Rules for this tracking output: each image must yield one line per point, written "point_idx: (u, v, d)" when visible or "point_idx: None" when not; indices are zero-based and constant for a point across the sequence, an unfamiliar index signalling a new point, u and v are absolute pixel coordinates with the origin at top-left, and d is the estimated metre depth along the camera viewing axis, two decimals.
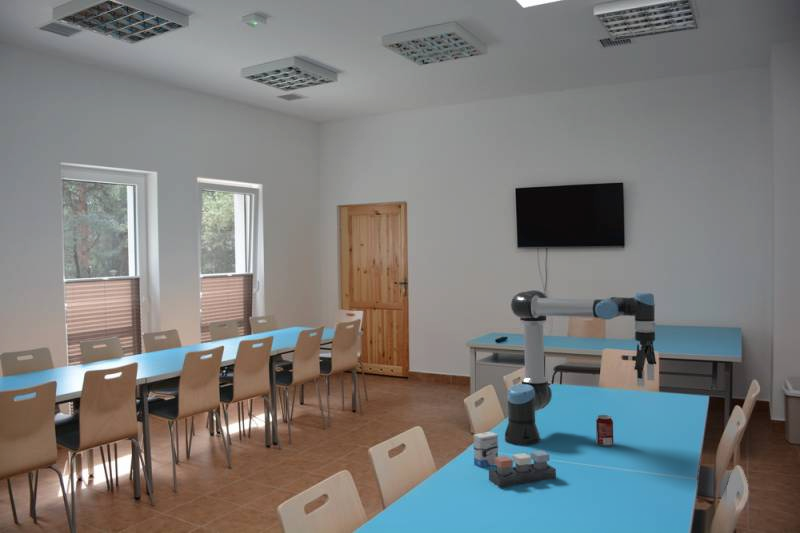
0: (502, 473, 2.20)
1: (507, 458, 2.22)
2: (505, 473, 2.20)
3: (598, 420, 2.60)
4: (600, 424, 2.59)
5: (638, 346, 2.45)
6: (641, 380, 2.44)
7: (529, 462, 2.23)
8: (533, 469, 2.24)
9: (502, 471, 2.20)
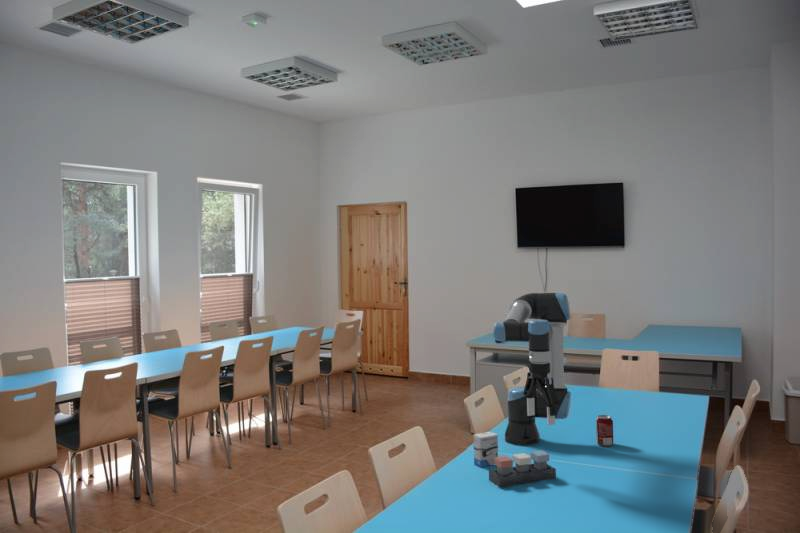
0: (502, 473, 2.20)
1: (507, 458, 2.22)
2: (505, 473, 2.20)
3: (598, 420, 2.60)
4: (600, 424, 2.59)
5: None
6: None
7: (529, 462, 2.23)
8: (533, 469, 2.24)
9: (502, 471, 2.20)
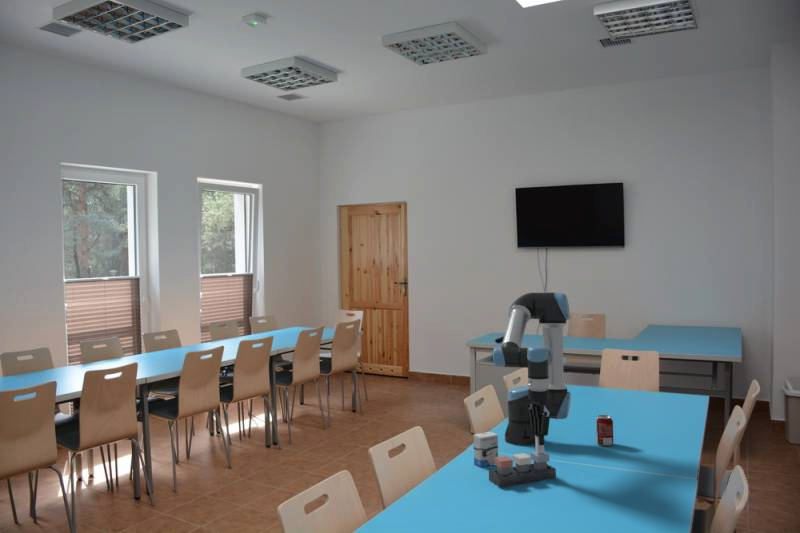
0: (502, 473, 2.20)
1: (507, 458, 2.22)
2: (505, 473, 2.20)
3: (598, 420, 2.60)
4: (600, 424, 2.59)
5: None
6: None
7: (529, 462, 2.23)
8: (533, 469, 2.24)
9: (502, 471, 2.20)
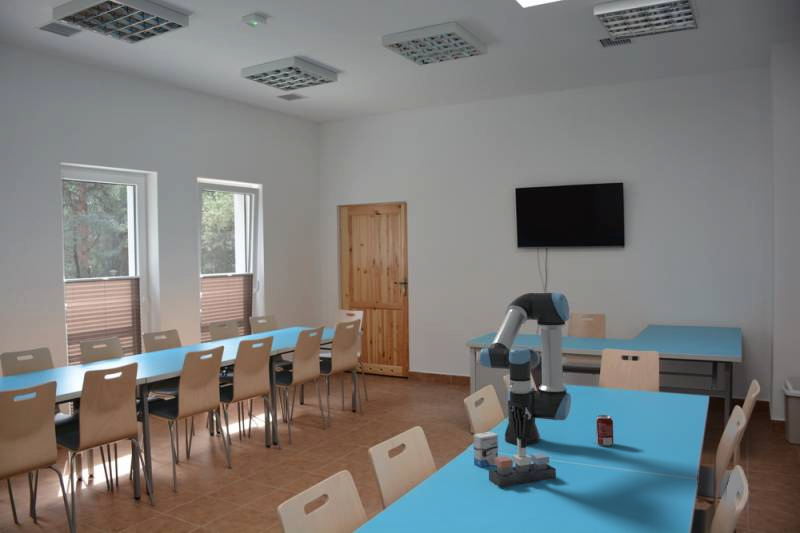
0: (502, 473, 2.20)
1: (507, 458, 2.22)
2: (505, 473, 2.20)
3: (598, 420, 2.60)
4: (600, 424, 2.59)
5: None
6: None
7: (529, 462, 2.23)
8: (533, 469, 2.24)
9: (502, 471, 2.20)
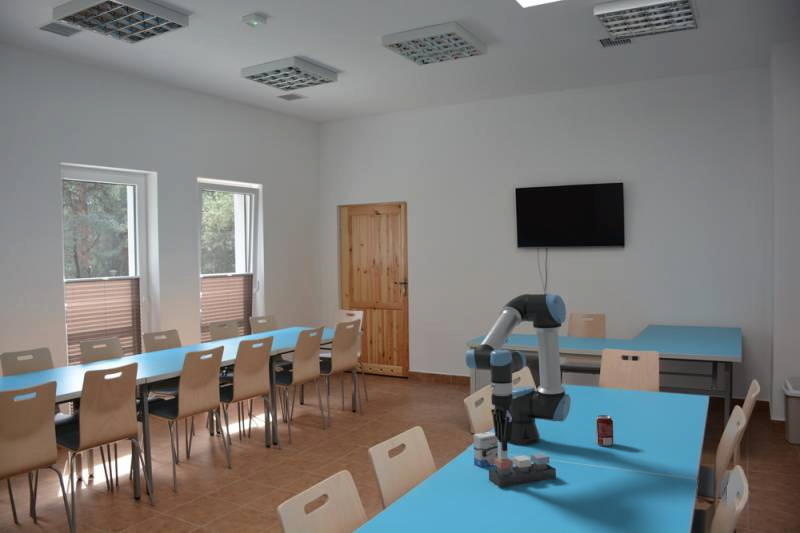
0: (502, 474, 2.20)
1: (507, 459, 2.22)
2: (505, 474, 2.20)
3: (598, 420, 2.60)
4: (600, 424, 2.59)
5: None
6: None
7: (529, 464, 2.23)
8: (533, 469, 2.24)
9: (503, 472, 2.20)
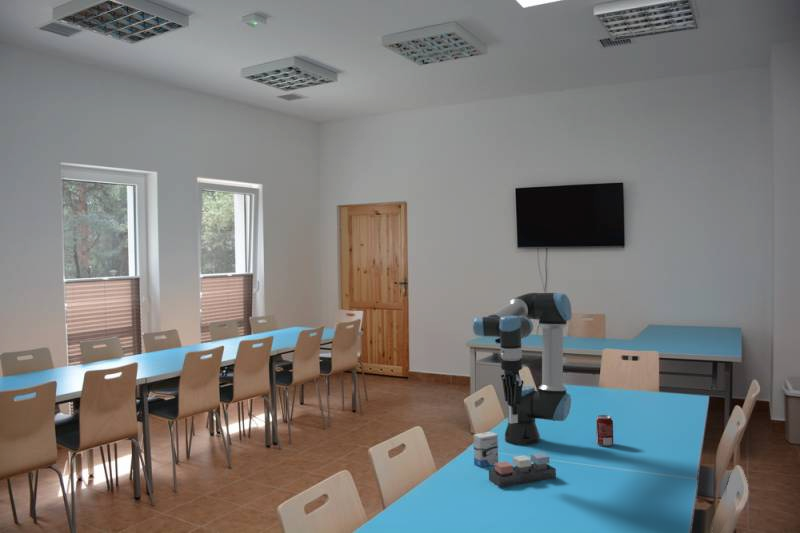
0: None
1: (507, 464, 2.22)
2: None
3: (598, 420, 2.60)
4: (600, 424, 2.59)
5: None
6: None
7: (529, 464, 2.23)
8: (533, 469, 2.24)
9: None
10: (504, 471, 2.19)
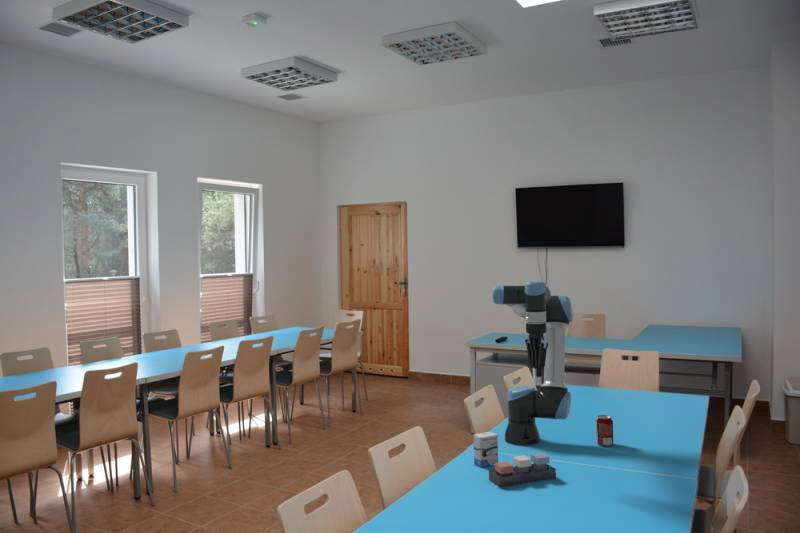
0: None
1: (507, 464, 2.22)
2: None
3: (598, 420, 2.60)
4: (600, 424, 2.59)
5: None
6: None
7: (529, 464, 2.23)
8: (533, 469, 2.24)
9: None
10: (504, 471, 2.19)
